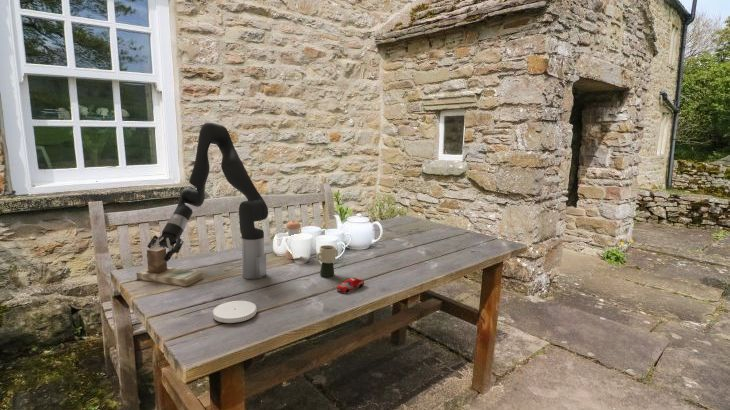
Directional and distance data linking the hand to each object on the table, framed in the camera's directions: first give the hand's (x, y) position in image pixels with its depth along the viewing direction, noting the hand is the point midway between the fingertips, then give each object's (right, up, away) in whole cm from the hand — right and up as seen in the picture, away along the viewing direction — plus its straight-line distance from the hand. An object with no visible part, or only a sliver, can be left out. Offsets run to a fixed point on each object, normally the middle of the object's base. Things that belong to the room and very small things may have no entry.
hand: (157, 259), depth 164 cm
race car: (+81, -12, -4) cm, 82 cm away
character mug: (+70, -9, +10) cm, 71 cm away
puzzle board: (+6, -8, 0) cm, 10 cm away
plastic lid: (+43, -15, -31) cm, 55 cm away
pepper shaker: (+51, -4, +34) cm, 61 cm away
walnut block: (0, -7, +1) cm, 7 cm away
